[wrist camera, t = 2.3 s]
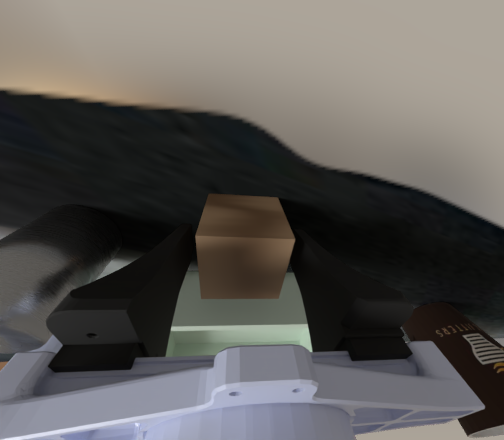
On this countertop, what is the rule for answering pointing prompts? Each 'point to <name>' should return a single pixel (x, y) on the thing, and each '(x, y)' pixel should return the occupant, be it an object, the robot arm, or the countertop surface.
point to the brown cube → (243, 247)
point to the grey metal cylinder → (49, 269)
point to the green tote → (235, 320)
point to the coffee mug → (466, 361)
